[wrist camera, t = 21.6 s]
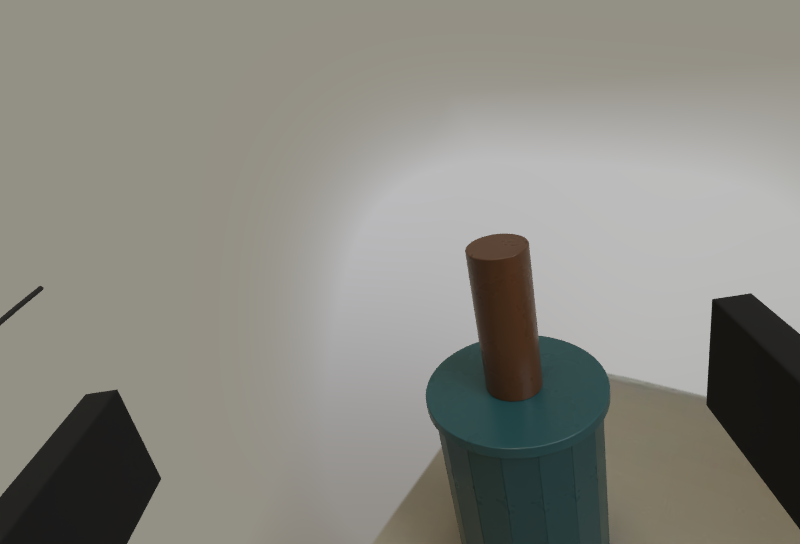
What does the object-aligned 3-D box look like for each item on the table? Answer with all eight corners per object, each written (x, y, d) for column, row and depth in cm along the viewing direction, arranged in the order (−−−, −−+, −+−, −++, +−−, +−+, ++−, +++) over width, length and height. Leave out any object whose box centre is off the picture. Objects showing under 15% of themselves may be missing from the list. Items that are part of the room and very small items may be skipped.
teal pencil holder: (450, 529, 37) (416, 373, 31) (564, 489, 38) (550, 332, 33) (500, 652, 29) (467, 475, 24) (640, 597, 30) (637, 417, 25)
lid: (410, 380, 32) (378, 239, 28) (554, 336, 33) (542, 195, 30) (463, 495, 24) (429, 319, 20) (651, 431, 25) (651, 253, 21)
